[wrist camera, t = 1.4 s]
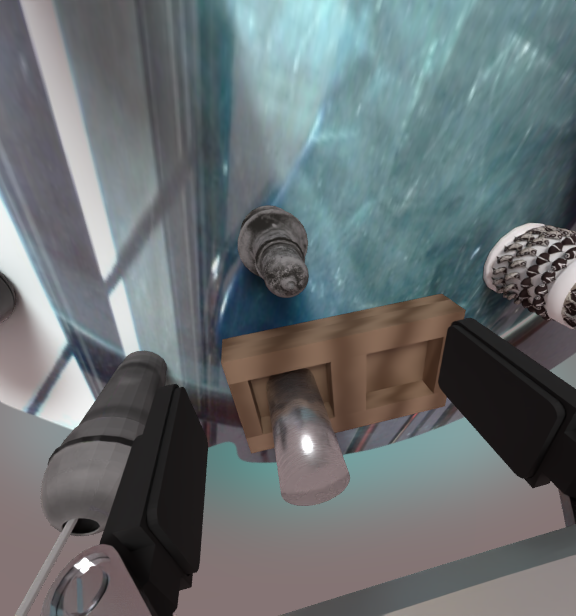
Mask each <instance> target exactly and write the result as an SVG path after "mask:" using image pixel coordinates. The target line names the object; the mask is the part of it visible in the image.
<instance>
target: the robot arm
mask: <svg viewBox="0 0 576 616" xmlns="http://www.w3.org/2000/svg"><path fill="white" fill-rule="evenodd" d="M438 384H439V387H440V389H441V390H442V392H443V393H444V394H445V395H446V396H447V397H448V398H449V400H450V401H451V402H452V403H453V404H454V405H455V406H456V408H457V409H458V410H459V411H460V412H461V413H462V414H463V415H464V417H465V418H466V419H467V420H468V421H469V422H470V423H471V424H472V426H473V427H474V428H475V429H476V430H477V431H478V432H479V433H480V435H481V436H482V437H483V438H484V439H485V440H486V441H487V443H489V445H490V446H491V447H492V448H493V449H494V450H495V452H496V453H497V454H498V455H499V456H500V457H501V458H502V459H503V460H504V462H505V463H506V464H507V465H508V466H509V467H510V468H511V470H512V471H513V472H514V473H515V474H516V475H517V476H519V477H520V478H524V479H525V480H526V481H527V482H528V483H529V484H530V485H531V487H532V488H535V487H538V486H542V485H546V484H548V483H550V481H552V482H553V483H554V485H555V486H556V487H557V488H558V489H559V493H560V499H561V504H562V509H563V514H564V519H565V524H566V528H563V529H560V530H556V531H552V532H549V533H546V534H543V535H539V536H536V537H533V538H529V539H526V540H522V541H519V542H516V543H513V544H510V545H506V546H503V547H499V548H496V549H493V550H489V551H486V552H483V553H480V554H476V555H473V556H470V557H467V558H464V559H460V560H457V561H454V562H450V563H447V564H444V565H440V566H437V567H434V568H431V569H427V570H424V571H421V572H418V573H414V574H411V575H408V576H405V577H402V578H398V579H395V580H392V581H388V582H385V583H382V584H379V585H375V586H372V587H369V588H366V589H363V590H360V591H356V592H353V593H350V594H347V595H344V596H340V597H337V598H334V599H331V600H328V601H324V602H321V603H318V604H315V605H312V606H308V607H305V608H302V609H299V610H296V611H292V612H289V613H286V614H283V615H280V616H576V389H575V388H574V387H572V386H571V385H569V384H568V383H566V382H564V381H563V380H562V379H560V378H559V377H557V376H556V375H555V374H553V373H552V372H550V371H549V370H547V369H546V368H544V367H543V366H541V365H540V364H539V363H537V362H536V361H534V360H533V359H531V358H530V357H528V356H527V355H525V354H524V353H523V352H521V351H520V350H518V349H517V348H515V347H514V346H512V345H511V344H509V343H508V342H507V341H505V340H504V339H502V338H501V337H499V336H498V335H496V334H495V333H493V332H492V331H491V330H489V329H488V328H486V327H485V326H483V325H482V324H480V323H479V322H477V321H476V320H474V319H472V318H466V319H462V320H457V321H454V322H452V323H451V326H450V327H448V330H447V334H446V340H445V345H444V351H443V356H442V362H441V367H440V373H439V378H438ZM207 454H208V442H207V438H206V435H205V433H204V431H203V428H202V426H201V424H200V422H199V419H198V417H197V415H196V413H195V410H194V408H193V406H192V404H191V401H190V399H189V397H188V395H187V392H186V390H185V388H184V387H180V388H179V386H178V385H177V384H173V385H168V386H164V387H160V388H158V389H157V390H156V392H155V395H154V399H153V402H152V405H151V409H150V412H149V415H148V418H147V422H146V425H145V428H144V431H143V434H142V435H139V436H137V437H136V438H135V440H134V442H133V444H132V447H131V450H130V453H129V456H128V459H127V462H126V465H125V468H124V471H123V475H122V478H121V481H120V484H119V487H118V490H117V493H116V496H115V499H114V502H113V505H112V508H111V511H110V514H109V517H108V520H107V523H106V526H105V529H104V532H103V535H102V538H101V541H100V544H99V545H95V546H92V547H90V548H88V549H86V550H84V551H82V552H81V553H80V554H79V555H77V556H76V557H75V558H73V559H72V560H71V561H70V562H69V563H68V564H67V565H66V567H65V568H64V569H63V570H62V571H61V572H60V573H59V575H58V576H57V578H56V579H55V581H54V582H53V584H52V585H51V587H50V589H49V591H48V593H47V595H46V598H45V600H44V603H43V607H42V611H41V615H40V616H177V615H176V614H175V610H176V609H177V605H178V596H179V591H180V590H183V589H187V588H190V587H191V586H192V576H193V573H195V572H197V571H198V569H199V563H200V551H201V537H202V524H203V523H202V522H203V510H204V496H205V482H206V468H207Z"/></svg>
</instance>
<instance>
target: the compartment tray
mask: <svg viewBox="0 0 576 616" xmlns="http://www.w3.org/2000/svg"><path fill="white" fill-rule="evenodd" d="M465 311H466V310H464V309H463V308H462V307H460V306H459V305H457V304H456V303H454V302H453V301H451V300H450V299H449V298H447V297H446V296H444V295H443V294H438V295H433V296H428V297H424V298H419V299H414V300H409V301H404V302H400V303H395V304H390V305H385V306H381V307H376V308H371V309H366V310H361V311H357V312H352V313H347V314H342V315H338V316H333V317H328V318H323V319H318V320H314V321H309V322H304V323H299V324H295V325H290V326H285V327H280V328H275V329H271V330H266V331H261V332H256V333H252V334H247V335H242V336H237V337H232V338H228V339H223V340H222V359H221V364H222V367H223V370H224V373H225V376H226V379H227V382H228V385H229V388H230V391H231V394H232V397H233V400H234V403H235V406H236V409H237V412H238V415H239V418H240V421H241V424H242V427H243V430H244V433H245V436H246V439H247V442H248V445H249V448H250V451H251V453H255V452H259V451H263V450H267V449H271V448H275V446H274V439H273V432H272V425H271V418H270V411H269V404H268V397H267V390H266V384H267V381H268V379H269V378H270V376H271V375H275V374H280V373H284V372H289V371H293V370H298V369H302V368H307V369H309V370H310V371H311V372H312V373H313V375H314V378H315V380H316V383H317V386H318V389H319V391H320V394H321V397H322V400H323V403H324V405H325V408H326V411H327V414H328V416H329V419H330V422H331V425H332V428H333V430H334V433H337V432H341V431H345V430H349V429H353V428H357V427H362V426H366V425H370V424H374V423H378V422H382V421H386V420H390V419H394V418H398V417H403V416H407V415H411V414H415V413H419V412H423V411H427V410H431V409H435V408H439V407H444V406H445V403H446V398H447V396H446V395H445V394H444V393H443V392H442V390H441V389H440V387H439V384H438V378H439V373H440V367H441V362H442V356H443V351H444V345H445V340H446V334H447V330H448V327H450V326H451V323H452V322H454V321H457V320H462V319H464V316H465Z"/></svg>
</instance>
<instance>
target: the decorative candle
mask: <svg viewBox="0 0 576 616" xmlns="http://www.w3.org/2000/svg"><path fill="white" fill-rule="evenodd" d="M483 279H484V281H485V283H486V285H487V287H488V288H490V289H492V290H494V291H496V293H503V297H504V298H507V299H509V300H511V299H514V303H515V304H520V303H522V306H523V307H524V308H528V310H529V311H530V312H536V314H537V315H540V316H542V318H543V319H545V320H551V319H552V320H554V321H557V322H559V323H561V324H563V325H565V326H567V327H569V328H570V329H576V232H575V231H569V230H567V229H560V228H558V227H553V226H550V225H544V224H539V223H527V224H524V225H522V226H519V227H516V228H514V229H513V230H511V231H510V232H509V233H507V234H506V235H505V236H503V237H502V238H501V239H500V240H499V241H498V242H497V244H496V245H495V246H494V247H493V249H492V250H491V251H490V253H489V255H488V257H487V260H486V262H485V264H484V273H483ZM521 299H522V300H523V301H522V300H521Z"/></svg>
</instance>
